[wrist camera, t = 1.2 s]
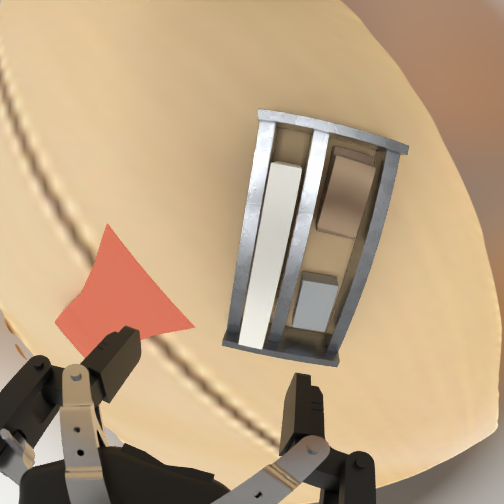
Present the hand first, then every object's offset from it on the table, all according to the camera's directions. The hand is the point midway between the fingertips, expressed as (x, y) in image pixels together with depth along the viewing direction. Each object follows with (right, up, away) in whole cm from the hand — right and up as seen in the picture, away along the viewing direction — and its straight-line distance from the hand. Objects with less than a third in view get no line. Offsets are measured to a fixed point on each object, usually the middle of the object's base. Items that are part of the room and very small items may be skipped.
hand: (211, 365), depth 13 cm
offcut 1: (+10, -1, +24) cm, 26 cm away
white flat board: (+5, +8, +22) cm, 24 cm away
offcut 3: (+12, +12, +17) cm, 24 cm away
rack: (+9, +7, +21) cm, 24 cm away
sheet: (-22, -4, +31) cm, 38 cm away
